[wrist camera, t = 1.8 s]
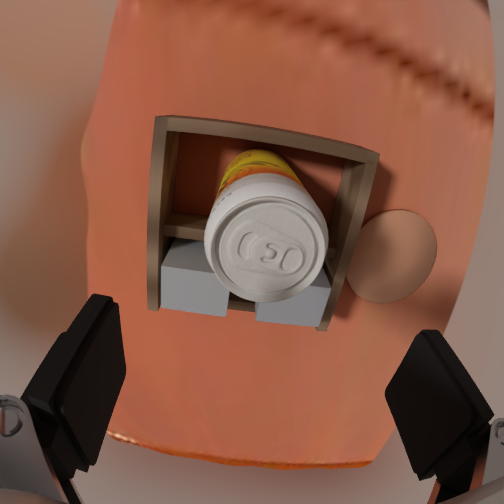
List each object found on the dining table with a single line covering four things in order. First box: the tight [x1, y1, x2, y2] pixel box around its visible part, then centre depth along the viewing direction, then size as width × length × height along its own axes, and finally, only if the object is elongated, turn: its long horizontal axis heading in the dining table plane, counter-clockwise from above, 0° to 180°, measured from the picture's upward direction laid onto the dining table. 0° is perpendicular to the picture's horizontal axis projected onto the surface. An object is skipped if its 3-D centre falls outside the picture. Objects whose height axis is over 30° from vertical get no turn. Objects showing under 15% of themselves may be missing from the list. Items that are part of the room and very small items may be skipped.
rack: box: [147, 115, 380, 332], centre depth 27 cm, size 17×17×5 cm
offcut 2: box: [255, 267, 331, 327], centre depth 28 cm, size 4×6×7 cm
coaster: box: [346, 209, 436, 304], centre depth 31 cm, size 11×11×1 cm
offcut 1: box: [161, 237, 230, 317], centre depth 28 cm, size 4×6×7 cm
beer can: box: [204, 149, 328, 303], centre depth 21 cm, size 6×6×15 cm
